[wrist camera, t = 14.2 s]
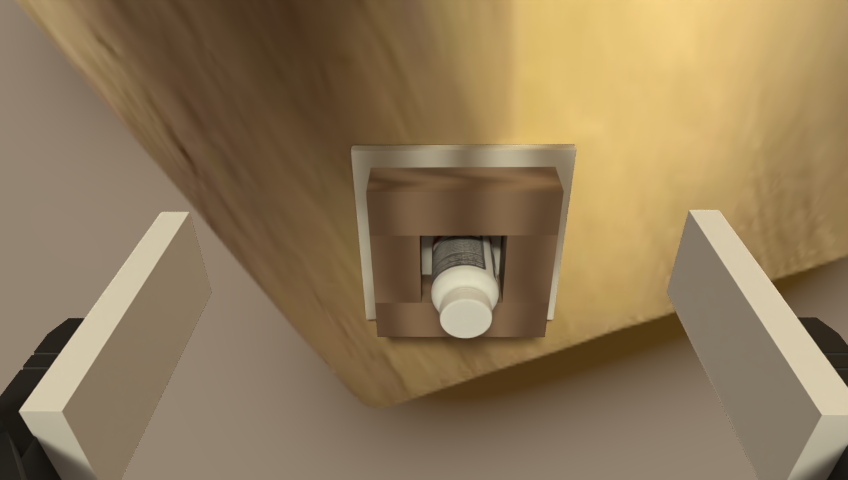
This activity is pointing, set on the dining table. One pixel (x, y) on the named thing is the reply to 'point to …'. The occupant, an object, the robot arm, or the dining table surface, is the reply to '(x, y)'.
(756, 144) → the dining table surface
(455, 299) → the pill bottle
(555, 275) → the socket block
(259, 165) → the dining table surface
